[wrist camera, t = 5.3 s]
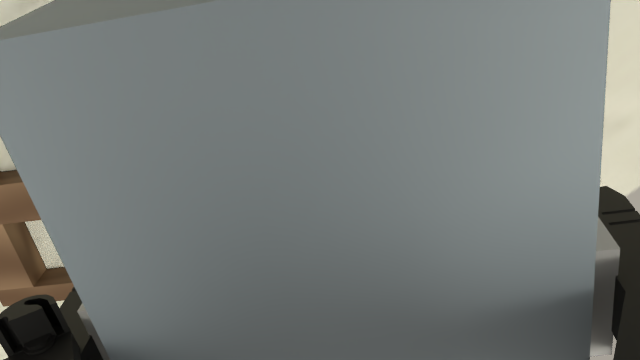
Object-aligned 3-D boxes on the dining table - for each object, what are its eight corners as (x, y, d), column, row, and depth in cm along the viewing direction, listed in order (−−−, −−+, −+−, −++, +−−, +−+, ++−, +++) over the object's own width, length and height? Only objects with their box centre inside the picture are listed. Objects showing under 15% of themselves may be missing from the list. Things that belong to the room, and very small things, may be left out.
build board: (-89, 83, 35) (-112, 94, 33) (81, 57, 34) (66, 68, 32) (17, 288, 43) (3, 306, 41) (159, 273, 42) (151, 291, 40)
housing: (129, -36, 15) (-44, 47, 8) (488, -106, 14) (614, -72, 7) (255, 354, 22) (214, 572, 15) (504, 329, 21) (578, 553, 14)
